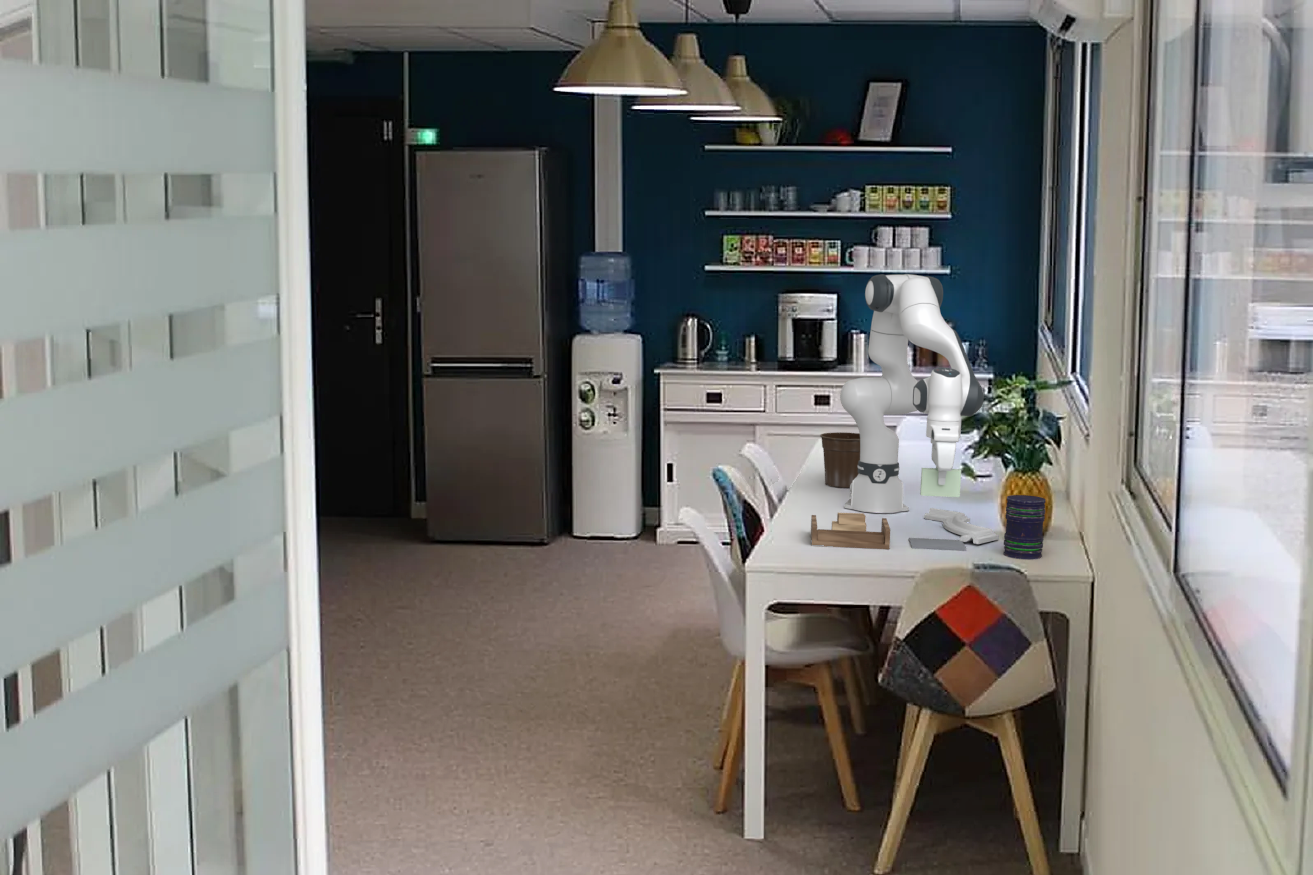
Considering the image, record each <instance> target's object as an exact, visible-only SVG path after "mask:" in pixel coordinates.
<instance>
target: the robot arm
mask: <svg viewBox="0 0 1313 875" xmlns="http://www.w3.org/2000/svg"><path fill="white" fill-rule="evenodd" d="M865 286H866V287H865V289H864V290H865V293H864V296H865V302H866V305H867V307H868V308H869V310H871V311H873V314H872V319H871V326H870V333H869V341H868V350H867V354H868V356H869V358H870V360H871V361H872V362H873V363H874V364H876V365H877V366H880V367H881V372H882V373H881V377H879V376H878V377H876V376H875V377H873V376H872V377H865V376H864V377H858V378H854V379H850V380H847V381H846V382H845V383H844V384H843V385H842V387H841V390H840V392H839V393H840V395H839V400H840V404H841V406H842V408H843V409H844V411H846V412H847V413H848V414H849V415H850V416H851V417H852V418H853V420H854V422H855V424H856V426H857V428H858V433H860V460H859V461H858V473H859V474H858V476H857V477H856V478H855V479H854V480H853V482H852V483H851V484H850V488H849V492H850V494H849V497H850V498H849V500H847V501H846V502H845V503H844V504H843V508H844V509H850V510H855V511H857V512H863V513H864V512H865V513H877V514H894V513H900V512H909V506H908V505H906V504H905V503H904V482H903V481H902V480H901V479H900V477H899V474H900V463H899V447H900V446H899V444H900V439H899V436H898V434H897V433H896V431H894V430H893V429H892V428H889V427H887V426H886V423H885V419H884V415H885V416H886V415H887V416H888V415H889V416H891V415H893V416H895V415H906V414H910V413H914V412H919V413H921V414H926V415H927V417H926V429H925V432H926V433H925V437H926V438H929V439H930V444H932V445H931V461H932V462H933V464H934V465H935V468H938V484H939V485H944V484H945V478H946V474H947V471H952V469H954V468H953V467H954V463H955V459H956V458H955V456H956V450H957V448H956V447H957V443H959V441H960V439H961V431H962V430H961V429H962V416H963V417H972V416H974V415H975V414H976V413H978V411H980V410H981V408H982V407H983V405H984V390H983V388H982V386H981V384H980V381H979V380H978V379H977V377H976V375H975V372H974V371H973V367H972V365H971V362H970V360H969V358H968V354H967V353H966V349H965V348H964V345H963V342H962V340H961V337H960V336H959V333H958V332H957V331H956V330H955V329H953V328H952V327H950V326H949V324H948V323H947V322H946V321H945V319H944V317H943V316H942V314H941V309H940V308H941V306H942V303H943V299H944V288H943V285H942V283H941V281H940V280H939V279H938V278H936V277H934V276H933V277H932V276H929V275H926V276H923V275H917V274H908V273H905V274H883V273H882V274H876V275H873V276H871V278H870V279H868V281H867V283H866V285H865ZM909 342H911V343H912V344H913V345H915V346H917V347H920V348H923V349H926V350H930V351H932V352H935V353H937V354H940V355H941V356H943V357H944V358H945V359H946V360H947V361H948V363H949V365H950V367H951V368H950V367H936V368H933V369H932V370H931V373H930V375H929V376H928V377H926V378H921V379H920V380H917V379H916V378H915V377H914V376H913V374H912V372H911V370H910V367H909V363H908V349H909V348H908V347H909V346H908V344H909Z"/></svg>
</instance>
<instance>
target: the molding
mask: <svg viewBox="0 0 1313 875" xmlns="http://www.w3.org/2000/svg"><path fill="white" fill-rule="evenodd" d="M923 518H925V520H930V521H931V520H932V521H937V522H943V523H942V527H943V528H944V529H945V530H947V531H948V532H951V533H953V534H956V535H959V536H960V537H959V540H960V541H963V543H967V542H971V541H972V542H973V544H975V545H980V544H985V543H989V542H992V541H998V540H1000V539H999V537H1000V534H996V532H994V530H993V529H992V528H988V527H983V526H979V525H975V524H971V523H970V521H971V518H970V517H968V516H967V515H966V514H965V513H964V512H960V511H954V510H953V511H952V510H947V509H941V508H940V509H939V508H934V507H930V508H929V510H928V512H927V513H925V514H924V516H923ZM967 522H969V523H967Z"/></svg>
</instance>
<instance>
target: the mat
mask: <svg viewBox="0 0 1313 875" xmlns="http://www.w3.org/2000/svg"><path fill="white" fill-rule="evenodd" d="M908 542H909V544H910V547H911V549H924V550H925V549H926V550H942V551H943V550H944V551H967V547H966V545H965V542H963V541H960V539H949V538H948V539H945V538H929V537H928V538H927V537H926V538H924V537H923V538H921V537H908Z"/></svg>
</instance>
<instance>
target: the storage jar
mask: <svg viewBox="0 0 1313 875" xmlns="http://www.w3.org/2000/svg"><path fill="white" fill-rule="evenodd" d="M1045 503H1046V499H1045V498H1044V497H1041V496H1036V495H1035V496H1034V495H1025V494H1023V495H1022V494H1012V495H1008V496H1006V506H1005V519H1006V522H1005V523H1006V524H1005V525H1006V526H1005V532H1004V536H1003V538H1004V539H1003V549H1004V550H1003V556H1005V557H1007V558H1011V559H1015V560H1025V561H1026V560H1032V561H1033V560H1040V559H1042V558H1043V554H1042V552H1043V548H1044V535H1043V531H1044V530H1043V529H1044V522H1045V516H1046V504H1045ZM1041 557H1042V558H1041Z"/></svg>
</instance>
